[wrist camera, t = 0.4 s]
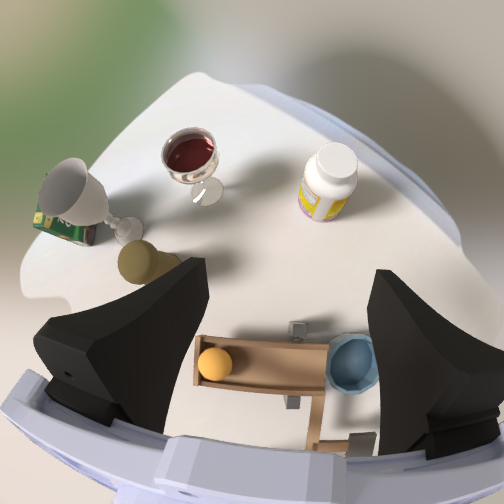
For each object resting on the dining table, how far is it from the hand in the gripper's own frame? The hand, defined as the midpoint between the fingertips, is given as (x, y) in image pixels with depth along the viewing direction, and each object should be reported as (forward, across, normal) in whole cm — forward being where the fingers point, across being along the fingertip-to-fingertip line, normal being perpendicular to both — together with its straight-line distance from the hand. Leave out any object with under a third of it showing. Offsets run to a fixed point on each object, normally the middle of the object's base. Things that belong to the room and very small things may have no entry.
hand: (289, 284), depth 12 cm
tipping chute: (+10, -1, +25) cm, 27 cm away
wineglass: (+31, +14, +6) cm, 34 cm away
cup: (+17, -9, +24) cm, 31 cm away
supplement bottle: (+32, -3, +7) cm, 33 cm away
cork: (+22, +18, +15) cm, 32 cm away
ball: (+10, +8, +20) cm, 24 cm away
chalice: (+25, +26, +10) cm, 37 cm away
